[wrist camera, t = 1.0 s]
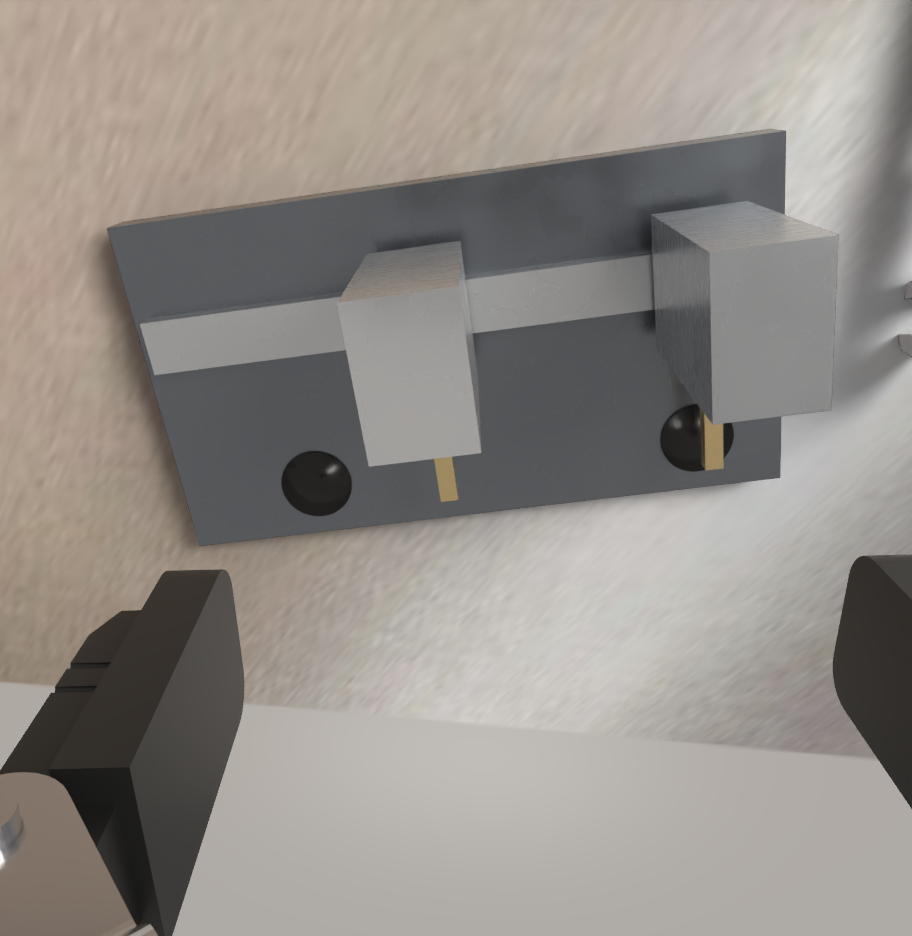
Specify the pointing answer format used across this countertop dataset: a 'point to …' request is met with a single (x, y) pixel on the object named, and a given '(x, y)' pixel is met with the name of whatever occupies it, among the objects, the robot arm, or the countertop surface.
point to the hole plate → (494, 333)
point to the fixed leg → (745, 313)
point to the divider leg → (413, 358)
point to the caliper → (907, 341)
